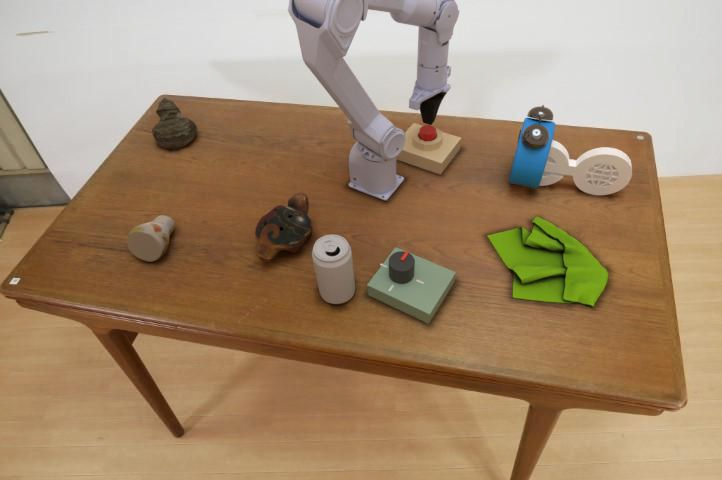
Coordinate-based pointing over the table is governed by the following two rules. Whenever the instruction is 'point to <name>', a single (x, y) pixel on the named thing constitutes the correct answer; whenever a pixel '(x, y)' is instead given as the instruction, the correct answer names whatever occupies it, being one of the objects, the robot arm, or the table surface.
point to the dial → (401, 267)
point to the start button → (427, 133)
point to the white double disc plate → (589, 169)
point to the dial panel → (413, 288)
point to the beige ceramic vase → (151, 238)
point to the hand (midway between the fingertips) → (428, 122)
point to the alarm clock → (533, 148)
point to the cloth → (550, 265)
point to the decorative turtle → (284, 228)
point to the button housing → (429, 150)
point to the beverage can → (334, 268)
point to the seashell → (172, 126)
